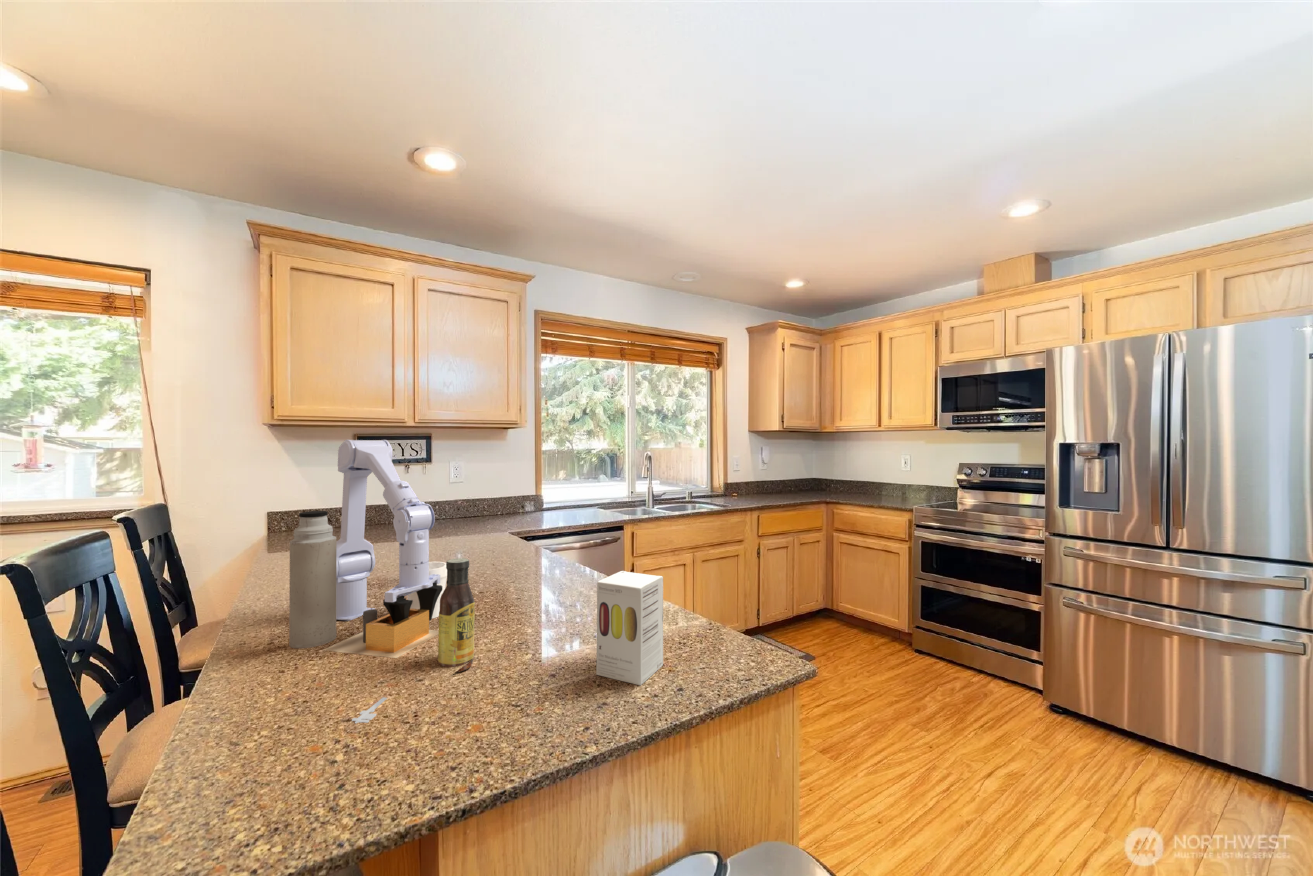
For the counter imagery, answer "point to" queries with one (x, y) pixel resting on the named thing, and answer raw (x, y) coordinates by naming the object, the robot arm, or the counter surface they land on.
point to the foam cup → (442, 571)
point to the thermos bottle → (312, 582)
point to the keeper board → (361, 647)
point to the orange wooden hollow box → (396, 631)
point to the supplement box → (629, 626)
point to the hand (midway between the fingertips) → (414, 626)
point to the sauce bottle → (456, 618)
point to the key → (366, 713)
